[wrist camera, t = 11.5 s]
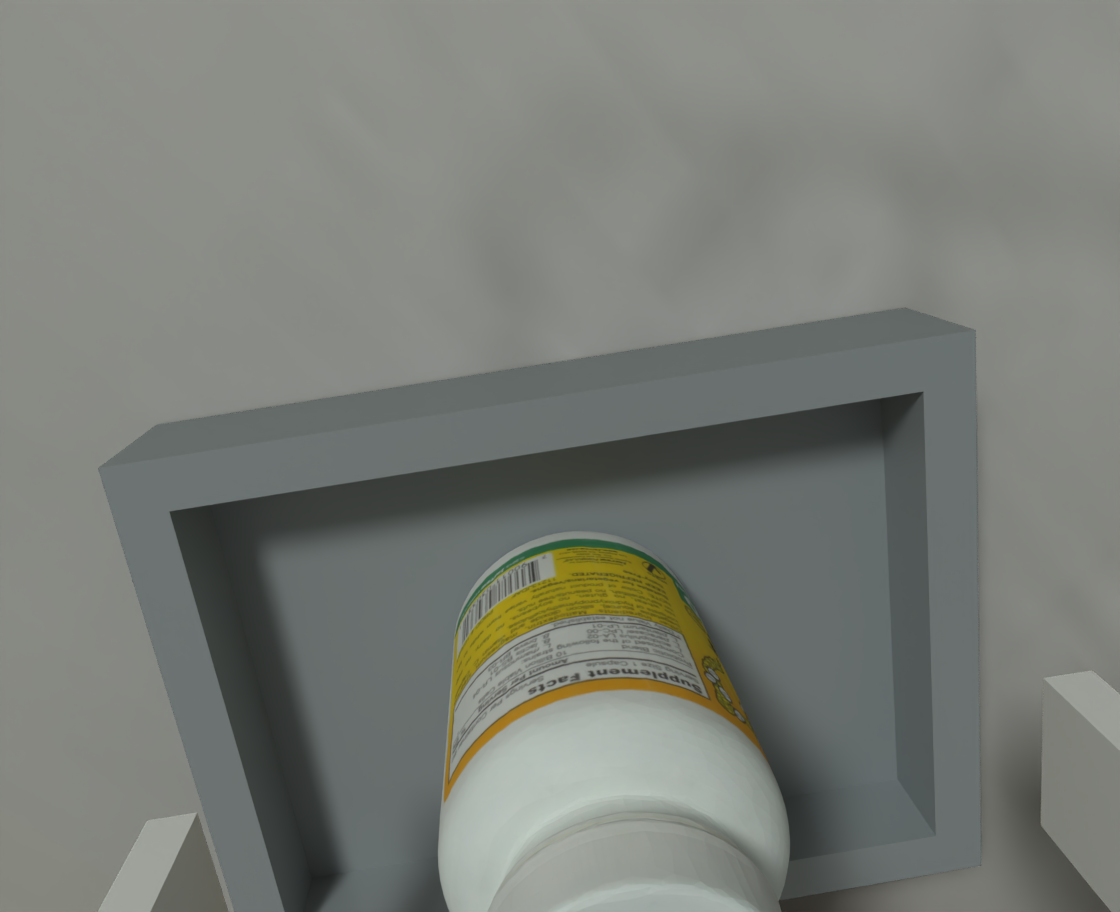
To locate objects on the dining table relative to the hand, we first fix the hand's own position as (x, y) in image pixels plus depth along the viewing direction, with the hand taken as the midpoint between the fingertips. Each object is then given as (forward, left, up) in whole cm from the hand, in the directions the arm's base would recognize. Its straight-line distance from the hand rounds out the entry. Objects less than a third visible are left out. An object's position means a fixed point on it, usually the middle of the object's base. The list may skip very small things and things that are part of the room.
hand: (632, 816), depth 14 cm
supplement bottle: (0, 0, -6) cm, 6 cm away
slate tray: (0, 0, -7) cm, 7 cm away
